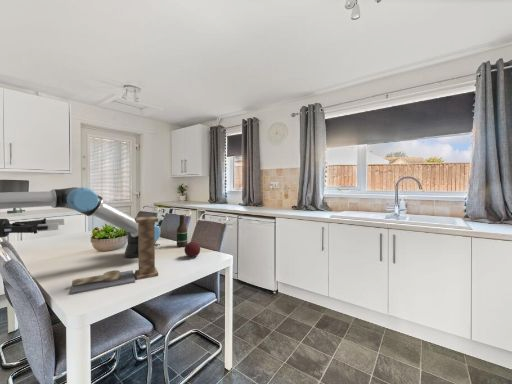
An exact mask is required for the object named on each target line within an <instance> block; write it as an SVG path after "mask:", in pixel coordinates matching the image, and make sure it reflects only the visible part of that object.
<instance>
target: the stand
mask: <svg viewBox="0 0 512 384" xmlns="http://www.w3.org/2000/svg"><path fill="white" fill-rule="evenodd" d="M134 218H135V222H136V223H138V253H139V257H138V269H135V271H134V272H135V274H134V275H135V277H136V278H135V279H136V280H144V279H149V278H154V277H158V276H159V272H158V269H157V267H156V266H155V265H156V264H155V263H156V262H155V258H156V257H155V256H156V249H155V247H156V246H155V225H156V224H155V223H158V222H159V218H158V217H156V216H136V217H134Z"/></svg>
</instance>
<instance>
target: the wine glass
mask: <svg viewBox="0 0 512 384" xmlns="http://www.w3.org/2000/svg"><path fill="white" fill-rule="evenodd" d="M155 225H156V226H158V227H159V228H160V232H161V230H162V227H161V224H155ZM158 245H159V246H161V243H157V241H156V242H155V247H159V246H158Z"/></svg>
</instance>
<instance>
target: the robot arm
mask: <svg viewBox="0 0 512 384" xmlns="http://www.w3.org/2000/svg"><path fill="white" fill-rule="evenodd" d="M39 207H40V208H41V207H43V208H44V207H51V208H53V209H57V208H60V209H61V208H64V209H69V210H74V211H76V212H77V213H80V214H82V215H84V216H87V217H91V216H94V217H97V218H99V219H100V220H103V221H104V222H107V223H109V224H111V225H113V226H115V227H116V228H119V229H121V230H123V231H125V232H127V233H126V234H127V244H126V248H125V251H124V257H125V258H127V259H136V258H137V259H139V253H138V223H136V222H135V217H134V216H132V215H131V214H128V213H126V212H124V211H122V210H120V209H118V208H117V207H115V206H113V205H111V204H109V203H107V202H106V201H104V198H103V197H102V196H100V195H99V194H98V193H96V192H95V191H94V190H92V189H91V188H88V187H78V186H77V187H73V186H72V187H67V188H57V189H54V188H53V189H51V190H48V191H12V192H11V191H10V192H9V191H8V192H0V210H4V209H8V210H9V209H23V208H39ZM64 225H65V219H64V218H56V219H55V218H54V219H53V218H52V219H51V218H50V219H47V218H45V217H44V218H43V219H35V220H34V219H33V220H24V221H14V222H12V223H10V221H9V219H8V218H0V238H7V237H8V236H9V234H32V233H33V234H35V235H36V234H38V232H47V231H58V230H59V231H60V227H59V226H64ZM156 225H157V224H155V242H156V243H157V241H158V240H159V239H160V237H161V231H160V228H159V227H158V226H156Z"/></svg>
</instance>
